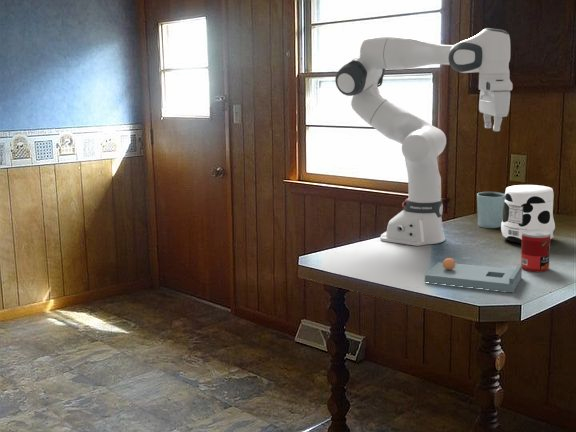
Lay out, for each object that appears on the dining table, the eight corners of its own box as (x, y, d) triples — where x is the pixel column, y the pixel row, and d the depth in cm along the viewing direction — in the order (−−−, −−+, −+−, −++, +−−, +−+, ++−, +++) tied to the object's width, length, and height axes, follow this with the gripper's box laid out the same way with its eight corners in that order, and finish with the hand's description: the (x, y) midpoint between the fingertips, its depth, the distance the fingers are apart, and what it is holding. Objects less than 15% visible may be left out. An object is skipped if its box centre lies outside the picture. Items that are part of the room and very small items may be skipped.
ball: (441, 270, 197) (441, 259, 196) (444, 267, 200) (444, 256, 200) (453, 272, 196) (453, 260, 195) (456, 268, 199) (456, 257, 198)
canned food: (545, 273, 199) (547, 236, 197) (517, 270, 203) (518, 234, 201) (551, 266, 206) (553, 230, 203) (524, 263, 210) (525, 228, 207)
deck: (425, 283, 195) (425, 269, 194) (438, 269, 207) (438, 256, 206) (512, 293, 184) (513, 278, 183) (521, 278, 196) (522, 264, 195)
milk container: (550, 234, 242) (552, 184, 238) (557, 247, 225) (560, 193, 221) (499, 233, 245) (500, 184, 242) (502, 246, 229) (504, 193, 225)
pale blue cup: (474, 222, 264) (475, 191, 261) (502, 222, 262) (502, 191, 260) (478, 228, 254) (478, 196, 251) (506, 228, 252) (507, 196, 250)
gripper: (474, 82, 218) (473, 126, 221) (492, 85, 198) (490, 133, 201) (494, 82, 218) (493, 126, 221) (514, 84, 198) (512, 132, 201)
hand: (492, 129), depth 211 cm, fingers open, 8 cm apart
